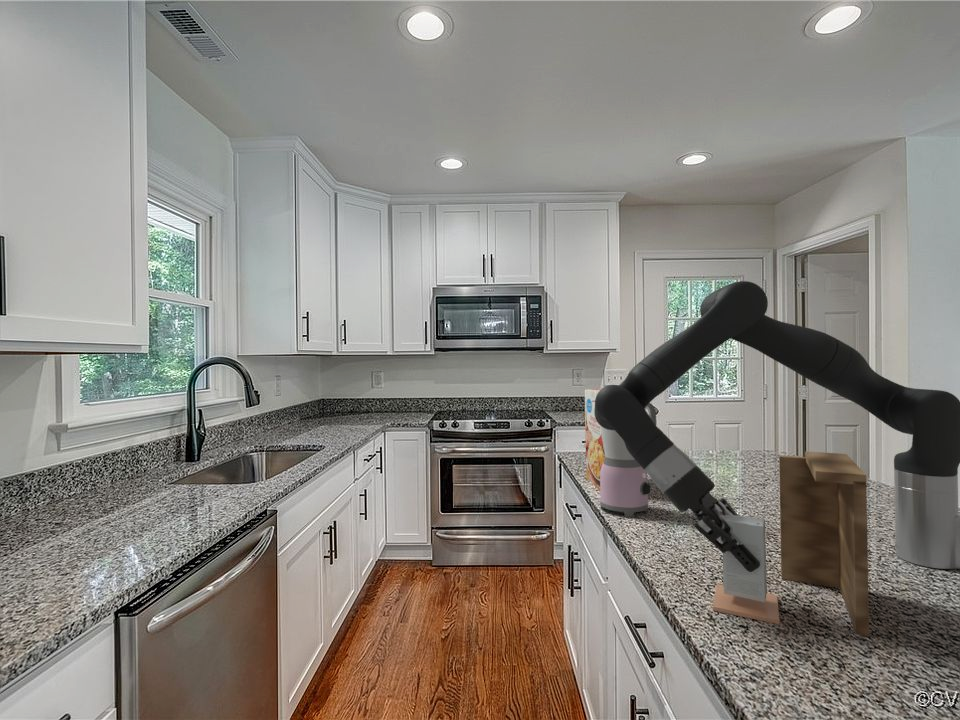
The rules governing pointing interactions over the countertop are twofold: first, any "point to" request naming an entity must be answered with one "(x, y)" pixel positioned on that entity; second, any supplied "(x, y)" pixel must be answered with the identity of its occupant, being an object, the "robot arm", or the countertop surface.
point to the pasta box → (593, 440)
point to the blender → (623, 475)
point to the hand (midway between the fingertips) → (757, 562)
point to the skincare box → (734, 572)
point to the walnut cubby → (826, 527)
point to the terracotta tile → (747, 606)
